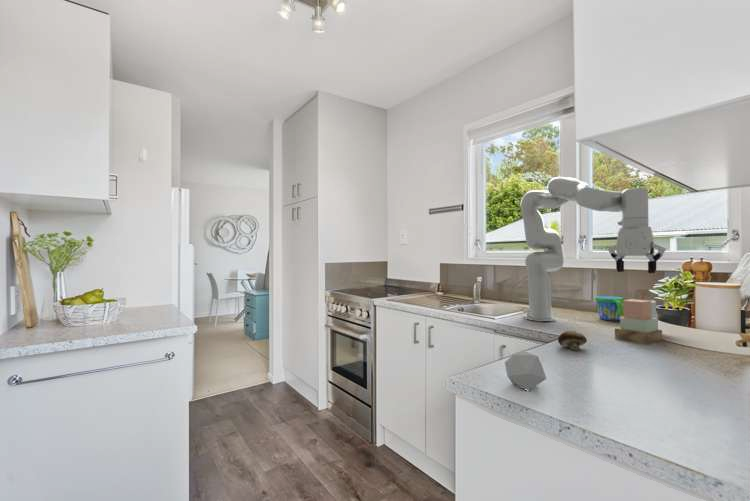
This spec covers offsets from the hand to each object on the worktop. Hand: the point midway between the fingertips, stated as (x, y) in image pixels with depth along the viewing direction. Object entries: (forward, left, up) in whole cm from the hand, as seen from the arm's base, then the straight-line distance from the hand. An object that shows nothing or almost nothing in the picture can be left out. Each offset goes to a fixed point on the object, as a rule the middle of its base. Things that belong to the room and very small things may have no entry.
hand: (635, 272), depth 122 cm
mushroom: (-5, -30, -24) cm, 39 cm away
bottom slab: (0, 0, -24) cm, 24 cm away
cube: (0, 0, -16) cm, 16 cm away
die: (+9, -70, -24) cm, 75 cm away
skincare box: (-3, +14, -24) cm, 28 cm away
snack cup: (-26, +31, -24) cm, 47 cm away
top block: (0, 0, -20) cm, 20 cm away
